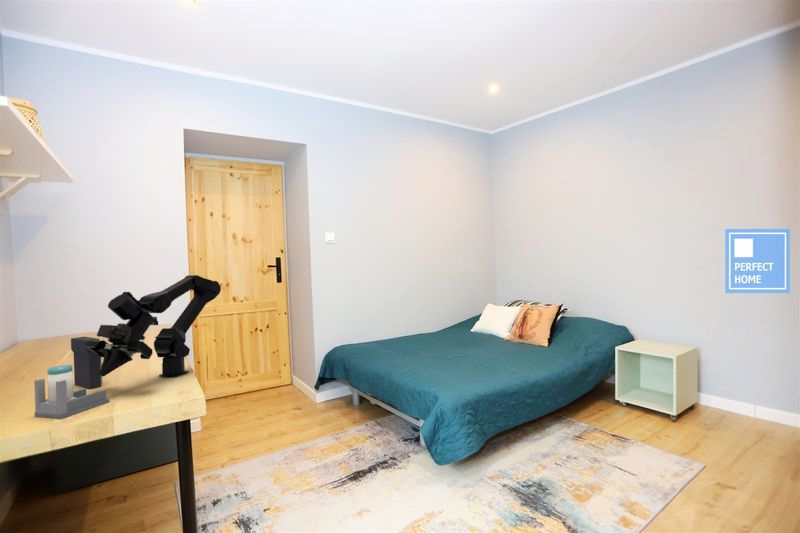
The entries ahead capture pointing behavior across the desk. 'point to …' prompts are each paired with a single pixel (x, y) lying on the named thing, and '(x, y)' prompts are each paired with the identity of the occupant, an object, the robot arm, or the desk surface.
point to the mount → (65, 401)
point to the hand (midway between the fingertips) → (101, 375)
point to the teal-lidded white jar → (58, 375)
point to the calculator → (86, 363)
